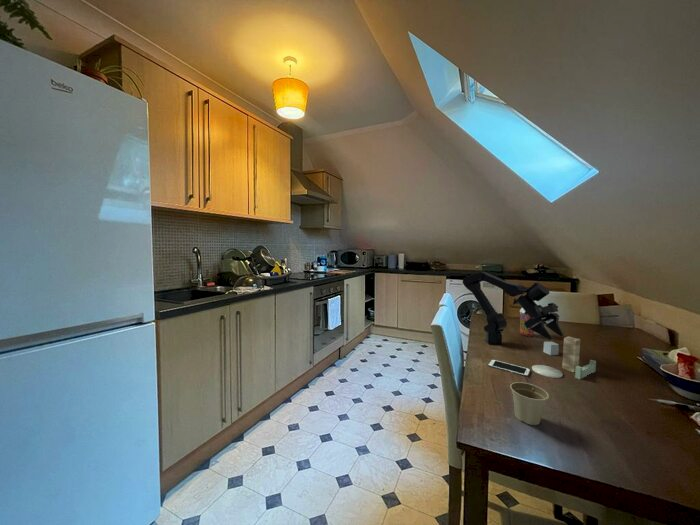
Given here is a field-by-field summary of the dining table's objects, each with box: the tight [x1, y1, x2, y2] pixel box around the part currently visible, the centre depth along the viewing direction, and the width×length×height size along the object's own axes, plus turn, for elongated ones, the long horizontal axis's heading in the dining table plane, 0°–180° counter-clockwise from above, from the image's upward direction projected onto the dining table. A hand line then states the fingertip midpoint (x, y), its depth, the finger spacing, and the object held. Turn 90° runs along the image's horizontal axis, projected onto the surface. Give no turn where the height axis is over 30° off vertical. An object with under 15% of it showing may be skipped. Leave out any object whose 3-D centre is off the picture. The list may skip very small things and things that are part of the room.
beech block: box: [561, 336, 581, 373], centre depth 109 cm, size 4×4×13 cm
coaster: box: [531, 364, 564, 379], centre depth 107 cm, size 10×10×1 cm
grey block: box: [543, 341, 560, 356], centre depth 126 cm, size 4×4×5 cm
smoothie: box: [519, 307, 536, 338], centre depth 151 cm, size 8×8×20 cm
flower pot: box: [509, 381, 550, 426], centre depth 78 cm, size 9×9×9 cm
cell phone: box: [487, 358, 532, 378], centre depth 110 cm, size 8×15×1 cm, turn 49°
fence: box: [574, 359, 597, 380], centre depth 105 cm, size 2×14×4 cm, turn 118°
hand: (556, 337), depth 114 cm, fingers open, 9 cm apart
